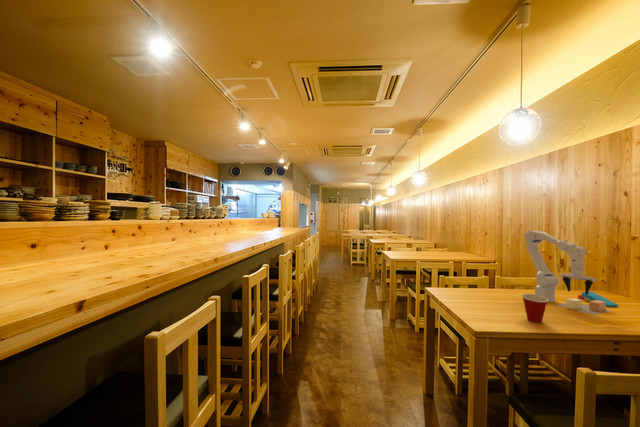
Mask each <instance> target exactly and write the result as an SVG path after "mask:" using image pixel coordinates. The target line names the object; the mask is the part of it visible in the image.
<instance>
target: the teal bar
mask: <svg viewBox="0 0 640 427" xmlns="http://www.w3.org/2000/svg"><path fill="white" fill-rule="evenodd" d="M577 299H579V300H589V301H594V300H599V301H604V302H606V308H614V307H615V308H616V307H618V306H619V304H617V303H616V302H614V301H611V300H609V299H608V298H606V297H603V296H601V294H597V293H595V292H593V291H589V293H588V294H585V291H582V292H581V294H578V295H577Z"/></svg>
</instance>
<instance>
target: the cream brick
mask: <svg viewBox="0 0 640 427" xmlns="http://www.w3.org/2000/svg"><path fill="white" fill-rule="evenodd" d="M565 303H566V309H569V308H570V310H573V309H580V308H582V304H583V299H579V298H575V297H573V298H566V299H565Z"/></svg>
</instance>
